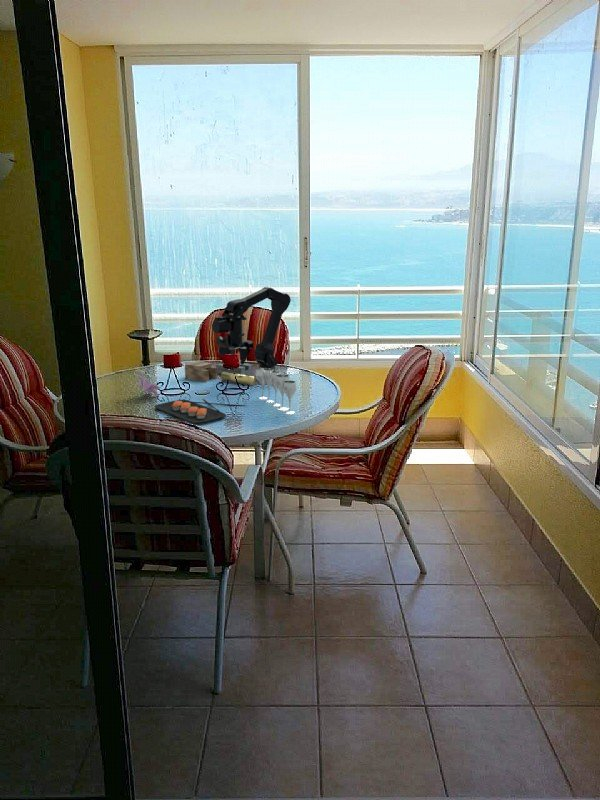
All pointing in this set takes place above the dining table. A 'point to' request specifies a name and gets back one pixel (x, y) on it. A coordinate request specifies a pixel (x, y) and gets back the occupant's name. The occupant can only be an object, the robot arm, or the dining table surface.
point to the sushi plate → (192, 410)
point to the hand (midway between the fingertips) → (236, 366)
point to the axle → (238, 378)
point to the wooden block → (200, 371)
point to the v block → (242, 369)
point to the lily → (147, 385)
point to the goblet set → (276, 386)
